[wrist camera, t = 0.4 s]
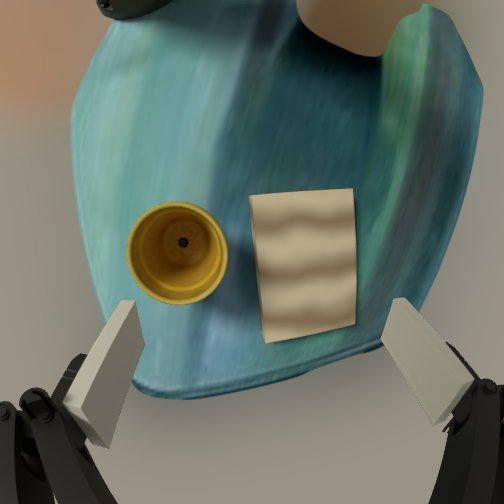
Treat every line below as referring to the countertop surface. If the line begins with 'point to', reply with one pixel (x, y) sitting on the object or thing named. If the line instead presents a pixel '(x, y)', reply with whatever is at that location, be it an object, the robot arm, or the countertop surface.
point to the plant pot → (177, 253)
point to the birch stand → (304, 261)
